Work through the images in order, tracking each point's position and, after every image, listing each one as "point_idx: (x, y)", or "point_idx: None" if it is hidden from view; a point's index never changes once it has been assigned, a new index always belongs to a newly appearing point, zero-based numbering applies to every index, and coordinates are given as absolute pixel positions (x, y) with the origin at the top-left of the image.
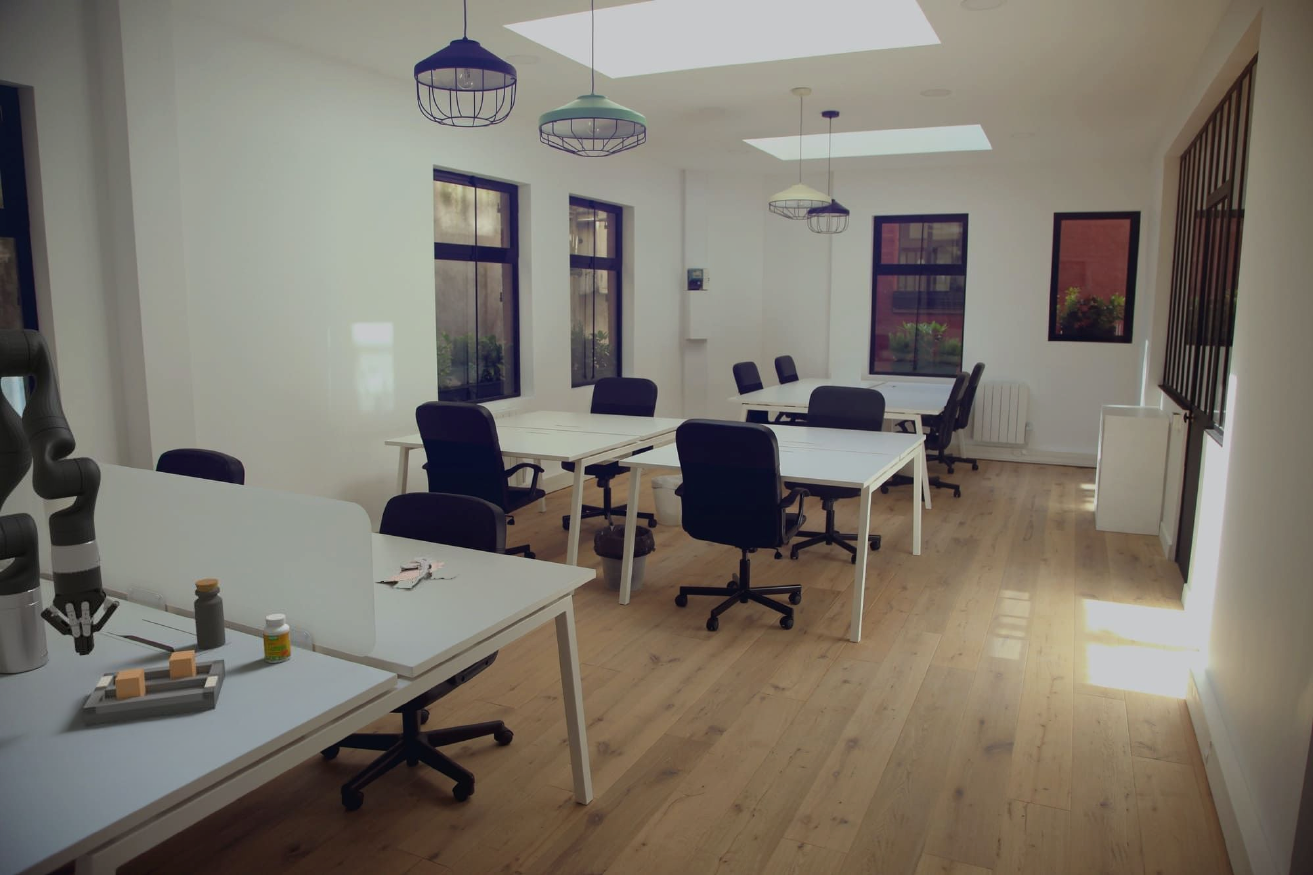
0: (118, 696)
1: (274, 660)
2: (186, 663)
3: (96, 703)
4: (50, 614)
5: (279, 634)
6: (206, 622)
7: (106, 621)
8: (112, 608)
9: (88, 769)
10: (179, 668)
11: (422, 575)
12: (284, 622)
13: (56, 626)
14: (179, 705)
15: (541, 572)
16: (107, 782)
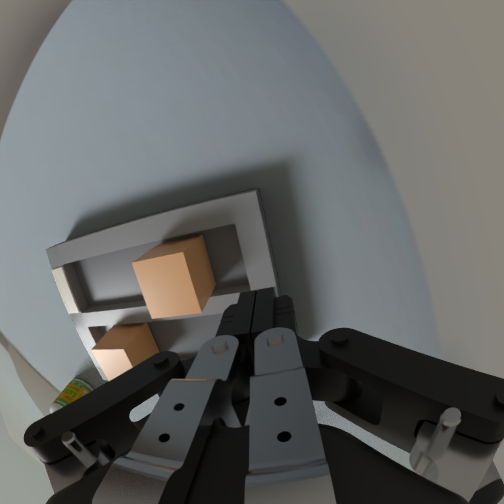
0: (193, 239)
1: (77, 380)
2: (103, 343)
3: (233, 213)
4: (465, 419)
5: (53, 403)
6: None
7: (102, 385)
8: (36, 427)
9: (168, 26)
10: (118, 338)
11: None
12: None
13: (398, 357)
14: (95, 231)
15: (30, 452)
16: (128, 6)
